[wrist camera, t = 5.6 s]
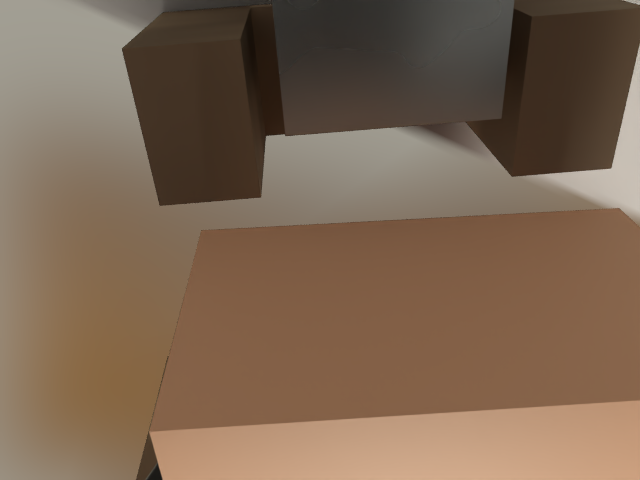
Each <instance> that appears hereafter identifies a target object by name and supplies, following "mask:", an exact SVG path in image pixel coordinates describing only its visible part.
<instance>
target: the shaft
mask: <svg viewBox="0 0 640 480" xmlns="http://www.w3.org/2000/svg"><path fill="white" fill-rule="evenodd" d="M272 8H273V18H274V27H275V37H276V47H277V57H278V67H279V77H280V87H281V97H282V107H283V117H284V126H285V136H293V135H305V134H318V133H330V132H343V131H354V130H367V129H378V128H379V129H380V128H392V127H404V126H417V125H429V124H441V123H454V122H466V121H479V120H491V119H501V118H502V109H503V100H504V91H505V82H506V72H507V63H508V54H509V45H510V36H511V27H512V18H513V9H514V0H272Z"/></svg>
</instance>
